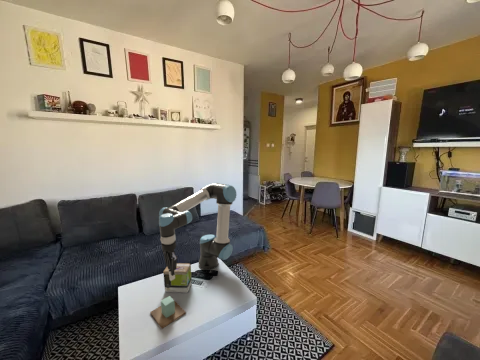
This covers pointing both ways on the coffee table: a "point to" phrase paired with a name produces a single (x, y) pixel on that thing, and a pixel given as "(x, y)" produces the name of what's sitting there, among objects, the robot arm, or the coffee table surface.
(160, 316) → the board
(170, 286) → the tea box
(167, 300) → the pale green upright block
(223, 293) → the coffee table surface
